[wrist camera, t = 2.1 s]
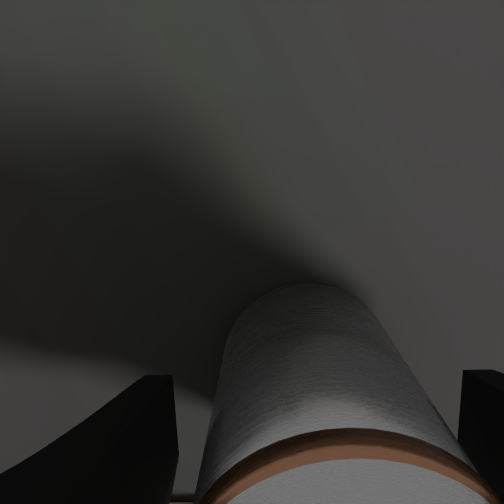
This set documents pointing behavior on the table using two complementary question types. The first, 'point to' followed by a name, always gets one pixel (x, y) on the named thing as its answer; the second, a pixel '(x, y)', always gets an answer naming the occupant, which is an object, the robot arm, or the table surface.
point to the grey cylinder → (326, 413)
